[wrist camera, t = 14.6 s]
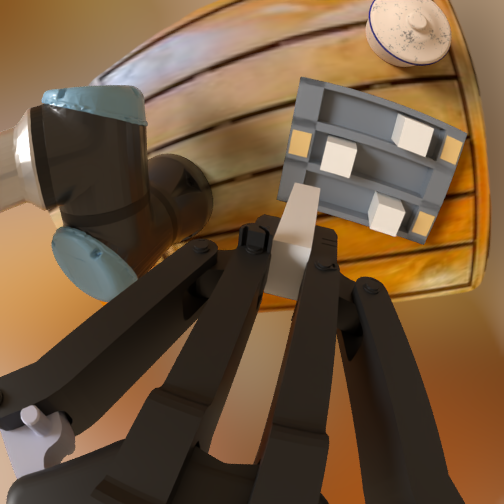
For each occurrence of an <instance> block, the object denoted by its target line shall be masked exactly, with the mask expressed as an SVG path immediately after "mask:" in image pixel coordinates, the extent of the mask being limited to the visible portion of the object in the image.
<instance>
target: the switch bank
mask: <svg viewBox="0 0 504 504" xmlns="http://www.w3.org/2000/svg"><path fill="white" fill-rule="evenodd" d="M398 113H399V114H402V115H404V116H407V117H410V118H412V119H415V120H417V121H420V122H422V123H424V124H426V125H428V126H430V127H432V128H433V129H434V131H433V134H432V137H431V141H430V144H429V147H428V150H427V154H426V157H424V156H421V155H419V154H416V153H413V152H411V151H408V150H406V149H403V148H400V147H398V146H397V145H396V144H395V143H394V141H393V140H392V139H391V138H392V134H393V130H394V127H395V123H396V119H397V115H398ZM329 134H331V135H334V136H338V137H341V138H345V139H348V140H352V141H355V142H356V146H357V153H356V156H355V160H354V163H353V167H352V171H351V174H350V177H349V178H347V177H344V176H340V175H337V174H333V173H330V172H326V171H323V170H320V167H321V163H322V159H323V155H324V151H325V146H326V142H327V139H328V135H329ZM466 136H467V133H465V132H463V131H461V130H459V129H457V128H455V127H453V126H451V125H448V124H446V123H444V122H442V121H440V120H437V119H435V118H433V117H430V116H428V115H426V114H423V113H421V112H418V111H416V110H413V109H411V108H408V107H405V106H403V105H400V104H397V103H394V102H392V101H389V100H386V99H383V98H380V97H377V96H374V95H370V94H367V93H364V92H361V91H357V90H354V89H350V88H347V87H343V86H339V85H335V84H331V83H327V82H323V81H319V80H314V79H310V78H305V77H301V78H300V83H299V88H298V94H297V99H296V104H295V109H294V115H293V120H292V125H291V130H290V135H289V141H288V146H287V151H286V156H285V161H284V166H283V171H282V176H281V181H280V186H279V191H278V196H277V200H280V201H284V202H288V199H289V197H290V194H291V191H292V189H293V186H294V184H295V183H300V184H304V185H309V186H313V187H317V188H320V195H319V202H318V209H317V211H320V212H323V213H326V214H330V215H333V216H337V217H340V218H343V219H346V220H350V221H353V222H356V223H359V224H363V225H366V226H369V227H370V225H369V217H368V210H369V207H370V204H371V201H372V199H373V196H374V193H375V191H378V192H381V193H384V194H387V195H390V196H393V197H396V198H398V199H400V200H401V203H402V205H403V208H404V210H405V215H404V217H403V220H402V222H401V224H400V227H399V229H398V232H397V234H396V235H397V236H400V237H403V238H406V239H409V240H411V241H414V242H417V243H420V244H423V245H424V243H425V241H426V239H427V237H428V235H429V233H430V230H431V228H432V226H433V224H434V222H435V219H436V217H437V215H438V212H439V210H440V208H441V205H442V203H443V200H444V198H445V196H446V193H447V190H448V188H449V185H450V183H451V180H452V177H453V175H454V172H455V169H456V166H457V163H458V161H459V158H460V155H461V152H462V148H463V145H464V142H465V139H466Z"/></svg>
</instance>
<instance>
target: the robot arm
mask: <svg viewBox="0 0 504 504" xmlns="http://www.w3.org/2000/svg"><path fill="white" fill-rule="evenodd" d="M42 103H44V104H42V105H40V106H37V107H33V108H29V109H28V110H27V111H26V113H25V114H24V116H23V117H22V118H21V120H20V121H19V123H18V124H17V125H16V126H15V127H13V128H10V129H7V130H5V131H2V132H0V213H1V212H4V211H6V210H9V209H11V208H14V207H16V206H19V205H22V204H24V203H31V204H33V205H35V206H37V207H39V208H40V209H42V210H44V211H45V210H48V209H51V208H54V207H57V206H59V208H60V212H61V216H62V220H63V227H60V228H58V229H57V230H56V233H55V234H54V236H53V240H52V251H53V254H54V257H55V259H56V261H57V263H58V265H59V266H60V268H61V269H62V271H63V272H64V273H65V275H66V276H67V277H68V278H69V279H70V280H71V281H72V282H73V283H74V284H75V285H76V286H77V287H78V288H79V289H81V290H82V291H83V292H85V293H86V294H88V295H89V296H91V297H93V298H95V299H98V300H101V301H104V302H108V303H107V304H106V305H105V306H103V307H102V308H101V309H100V310H98V311H97V312H96V313H94V314H93V315H92V316H91V317H89V318H88V319H87V320H86V321H85V322H83V323H82V324H81V325H80V326H79V327H77V328H76V329H75V330H73V331H72V332H71V333H70V334H69V335H67V336H66V337H65V338H64V339H63V340H61V341H60V342H59V343H58V344H57V345H55V346H54V347H53V348H52V349H51V350H49V351H48V352H47V353H46V354H45V355H44V356H42V357H41V358H40V359H39V360H38V361H37V362H35V363H33V364H30V365H28V366H26V367H23V368H21V369H19V370H16V371H14V372H11V373H9V374H7V375H4V376H2V377H0V431H1V433H2V437H3V440H4V444H5V447H6V450H7V453H8V456H9V459H10V462H11V465H12V467H13V470H14V473H15V475H16V478H17V480H16V481H15V482H14V483H13V484H12V486H11V487H10V489H9V491H8V495H7V502H6V504H329V503H328V501H327V500H326V499H325V497H324V496H323V495H322V494H321V493H320V492H321V487H322V482H323V477H324V472H325V466H326V461H327V455H328V449H329V436H328V435H327V434H326V421H327V415H328V408H329V399H330V392H331V384H332V375H333V364H334V355H335V342H336V334H337V339H338V343H339V348H340V352H341V357H342V362H343V367H344V372H345V377H346V382H347V388H348V393H349V398H350V404H351V410H352V415H353V421H354V427H355V433H356V439H357V447H358V453H359V460H360V468H361V475H362V483H363V491H364V497H365V503H366V504H465V502H464V501H463V499H462V497H461V496H460V494H459V492H458V490H457V489H456V487H455V485H454V484H453V482H452V480H451V478H450V477H449V475H448V470H447V466H446V461H445V457H444V453H443V449H442V445H441V441H440V437H439V433H438V430H437V426H436V423H435V419H434V415H433V412H432V409H431V406H430V402H429V399H428V396H427V393H426V390H425V387H424V384H423V381H422V378H421V375H420V372H419V369H418V367H417V364H416V361H415V358H414V356H413V353H412V350H411V348H410V345H409V342H408V340H407V338H406V335H405V332H404V330H403V327H402V325H401V323H400V320H399V318H398V315H397V313H396V311H395V308H394V306H393V303H392V301H391V299H390V297H389V294H388V292H387V290H386V288H385V287H384V285H383V284H382V283H381V282H379V281H378V280H376V279H374V278H371V277H361V278H359V279H357V281H356V282H355V281H352V280H350V279H348V278H347V277H345V276H344V275H342V274H341V273H340V269H339V265H338V264H337V234H336V233H335V231H334V230H333V229H329V228H325V227H321V226H316V225H315V223H316V216H317V209H318V202H319V195H320V188H317V187H313V186H309V185H304V184H300V183H295V184H294V186H293V189H292V191H291V194H290V197H289V199H288V202H287V205H286V207H285V210H284V213H283V215H282V218H278V217H274V216H269V215H265V214H264V215H262V216H261V217H259V218H258V219H257V220H256V222H255V223H248V224H245V225H243V226H241V227H240V231H239V242H238V247H237V249H235V250H218V246H217V245H216V244H215V243H214V242H212V241H211V240H207V239H195V240H192V241H190V242H188V243H187V244H185V245H184V246H182V247H181V248H180V249H178V250H177V251H176V252H174V253H173V254H171V255H170V256H169V257H167V258H166V259H165V260H163V261H162V262H161V263H159V264H158V265H157V266H155V267H154V268H153V269H151V268H152V267H153V265H154V264H155V263H156V262H157V261H158V260H159V259H160V258H161V256H162V255H163V254H164V253H165V252H166V251H167V250H168V249H169V248H170V247H171V246H172V245H174V244H176V243H179V242H180V241H183V240H186V239H189V238H191V237H193V236H194V235H196V234H197V233H198V232H199V231H200V230H201V229H202V228H203V227H204V226H205V225H206V223H207V222H208V220H209V218H210V216H211V213H212V207H213V198H212V192H211V189H210V186H209V183H208V181H207V179H206V178H205V176H204V175H203V173H202V172H201V171H200V170H199V168H198V167H197V166H195V165H194V164H193V163H192V162H190V161H189V160H187V159H186V158H183V157H181V156H178V155H174V154H161V155H157V156H155V157H153V158H151V159H149V160H148V159H147V137H146V126H147V125H148V123H147V121H146V117H145V106H144V96H143V94H142V92H141V91H140V90H139V89H138V88H137V87H134V86H129V85H106V86H86V87H74V88H64V89H55V90H48V91H46V92H45V93H44V95H43V98H42ZM150 269H151V270H150ZM149 270H150V271H149ZM148 271H149V272H148ZM264 288H265V289H264ZM263 291H264V293H268V294H272V295H276V296H280V297H284V298H289V299H293V300H297V302H296V306H295V309H294V313H293V316H292V319H291V321H292V323H291V328H290V332H289V336H288V340H287V344H286V349H285V353H284V357H283V361H282V365H281V369H280V373H279V377H278V381H277V385H276V388H275V392H274V396H273V400H272V403H271V407H270V411H269V414H268V418H267V422H266V425H265V429H264V432H263V436H262V439H261V443H260V446H259V449H258V452H257V455H256V458H255V461H254V464H253V465H250V464H248V465H247V464H227V463H223V462H221V461H219V460H218V459H216V458H214V457H213V456H211V455H209V454H208V451H209V448H210V444H211V440H212V437H213V434H214V431H215V429H216V426H217V423H218V420H219V417H220V415H221V413H222V410H223V407H224V405H225V402H226V399H227V396H228V394H229V391H230V388H231V385H232V383H233V380H234V377H235V375H236V372H237V369H238V366H239V364H240V360H241V358H242V355H243V352H244V350H245V347H246V344H247V341H248V338H249V335H250V333H251V330H252V327H253V324H254V321H255V318H256V315H257V313H258V310H259V307H260V304H261V301H262V296H263ZM197 319H198V320H197ZM196 320H197V322H196V324H195V326H194V327H193V329H192V331H191V333H190V335H189V337H188V339H187V341H186V343H185V344H184V346H183V348H182V350H181V352H180V354H179V356H178V357H177V359H176V361H175V363H174V365H173V367H172V369H171V371H170V373H169V374H168V377H167V378H166V380H165V382H164V384H163V385H162V386H161V387H159V388H155V389H154V390H152V391H151V393H150V394H149V396H148V397H147V399H146V401H145V403H144V404H143V406H142V409H141V410H140V412H139V414H138V416H137V418H136V419H135V421H134V423H133V425H132V427H131V429H130V431H129V433H128V434H127V436H126V439H123V440H120V441H117V442H114V443H112V444H110V445H108V446H105V447H103V448H100V449H98V450H95V451H93V452H91V453H88V454H85V455H83V456H80V457H78V458H75V459H72V460H69V461H67V462H64V463H61V461H62V459H63V458H64V457H65V456H66V455H70V454H72V453H73V452H74V450H75V436H76V435H79V434H81V433H82V432H83V431H85V430H86V429H88V428H89V427H91V426H92V425H93V424H94V423H95V422H97V421H98V420H99V419H100V418H101V417H102V416H103V415H104V414H105V413H106V412H107V411H108V410H109V409H110V408H111V407H112V406H113V405H114V404H115V403H116V402H117V401H118V400H119V399H120V398H121V397H122V396H123V395H124V394H125V392H127V390H128V389H130V387H131V386H132V385H133V384H134V383H135V382H136V381H137V380H138V379H139V378H140V377H141V376H142V375H143V374H144V373H145V372H146V371H147V370H148V369H149V368H150V367H151V366H152V365H153V364H154V363H155V362H156V361H157V360H158V359H159V358H160V357H161V356H162V355H163V354H164V353H165V352H166V351H167V350H168V349H169V348H170V347H171V346H172V344H173V343H174V342H175V341H176V340H177V339H178V338H179V337H180V336H181V335H182V334H183V333H184V332H185V331H186V330H187V329H188V328H189V327H190V326H191V325H192V324H193V323H194V322H195V321H196ZM60 463H61V464H60Z"/></svg>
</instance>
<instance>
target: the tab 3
mask: <svg viewBox="0 0 504 504" xmlns="http://www.w3.org/2000/svg"><path fill="white" fill-rule="evenodd" d="M433 131H434V129H433V128H432V127H430V126H428V125H426V124H424V123H422V122H420V121H417V120H415V119H412V118H410V117H407V116H404V115H402V114H399V113H398V115H397V119H396V123H395V127H394V130H393V134H392V138H391V139H392V140H393V141H394V143H395V144H396V145H397V146H398V147H400V148H403V149H406V150H408V151H411V152H413V153H416V154H419V155H421V156H424V157H426V154H427V150H428V147H429V144H430V141H431V137H432V134H433Z"/></svg>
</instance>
